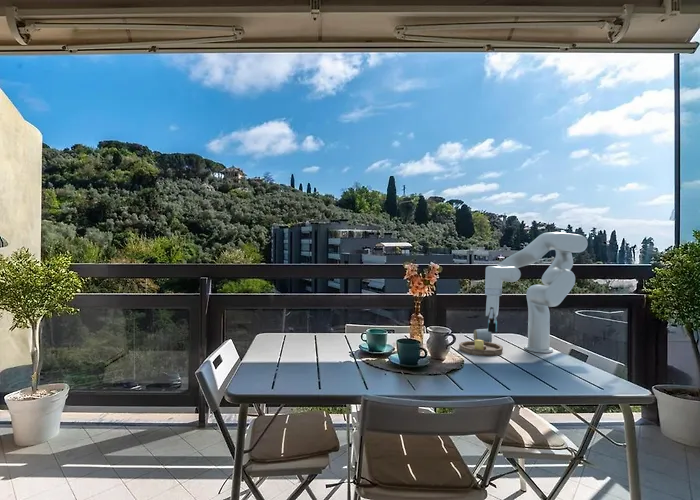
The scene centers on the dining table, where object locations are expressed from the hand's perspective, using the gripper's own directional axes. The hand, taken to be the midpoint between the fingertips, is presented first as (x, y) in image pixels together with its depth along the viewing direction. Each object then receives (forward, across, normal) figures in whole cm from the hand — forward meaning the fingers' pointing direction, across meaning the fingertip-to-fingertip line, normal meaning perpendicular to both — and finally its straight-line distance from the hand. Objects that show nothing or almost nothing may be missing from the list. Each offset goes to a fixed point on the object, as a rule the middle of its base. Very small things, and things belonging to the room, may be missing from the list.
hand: (492, 330), depth 195 cm
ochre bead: (+9, +5, -5) cm, 12 cm away
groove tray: (+10, 0, -5) cm, 11 cm away
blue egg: (0, 0, 0) cm, 0 cm away
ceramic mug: (+10, -16, -6) cm, 20 cm away
